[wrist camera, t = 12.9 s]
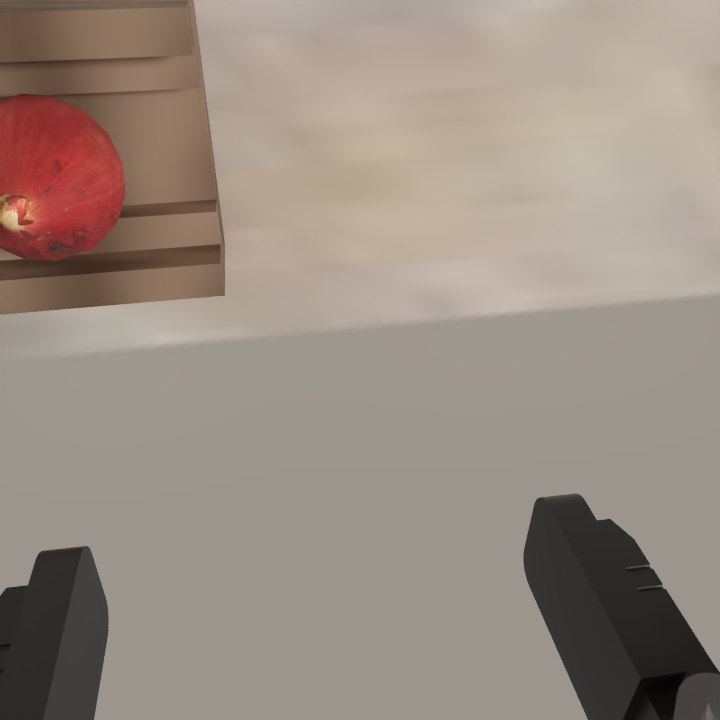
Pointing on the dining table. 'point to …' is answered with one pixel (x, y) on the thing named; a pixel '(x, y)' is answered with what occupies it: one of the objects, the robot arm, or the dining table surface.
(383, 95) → the dining table surface
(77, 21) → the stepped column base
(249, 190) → the dining table surface
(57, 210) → the pomegranate
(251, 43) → the dining table surface
